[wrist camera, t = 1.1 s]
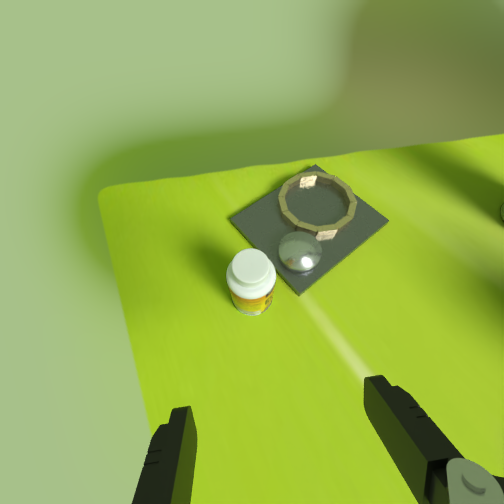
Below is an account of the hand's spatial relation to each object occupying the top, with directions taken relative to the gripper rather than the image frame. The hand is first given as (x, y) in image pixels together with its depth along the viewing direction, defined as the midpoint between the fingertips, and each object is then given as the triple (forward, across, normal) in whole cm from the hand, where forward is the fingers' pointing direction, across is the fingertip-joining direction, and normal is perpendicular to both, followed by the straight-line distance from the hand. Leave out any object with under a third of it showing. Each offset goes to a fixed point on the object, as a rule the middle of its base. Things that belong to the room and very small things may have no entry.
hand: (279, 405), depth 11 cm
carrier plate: (+30, -11, -2) cm, 32 cm away
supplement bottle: (+22, 0, +6) cm, 23 cm away
